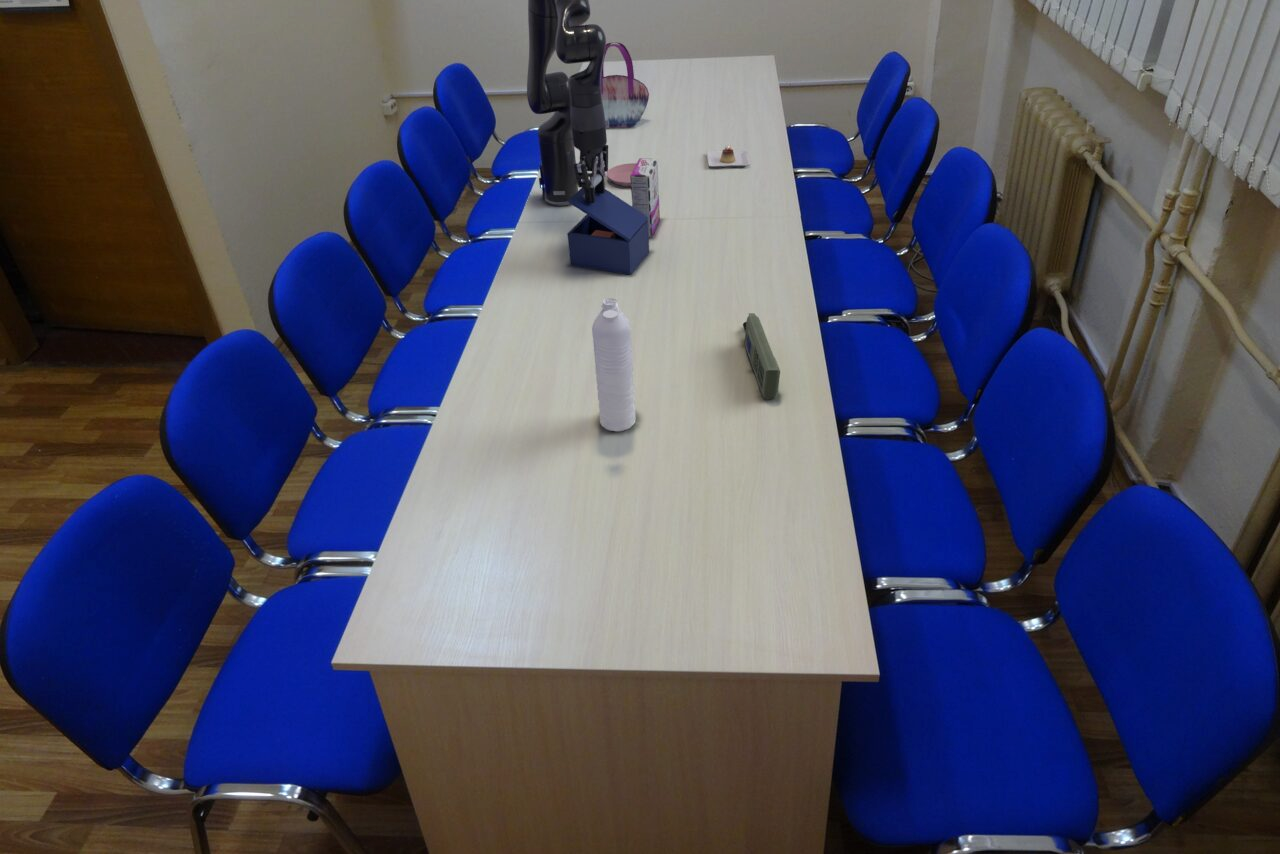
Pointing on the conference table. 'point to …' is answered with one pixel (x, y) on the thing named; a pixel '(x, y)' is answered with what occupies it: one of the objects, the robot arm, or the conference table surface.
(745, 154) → the dessert
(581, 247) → the case
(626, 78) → the handbag
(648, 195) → the candy bar box
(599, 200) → the case lid
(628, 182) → the plate
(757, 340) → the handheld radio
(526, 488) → the conference table surface
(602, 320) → the water bottle
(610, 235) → the cube
